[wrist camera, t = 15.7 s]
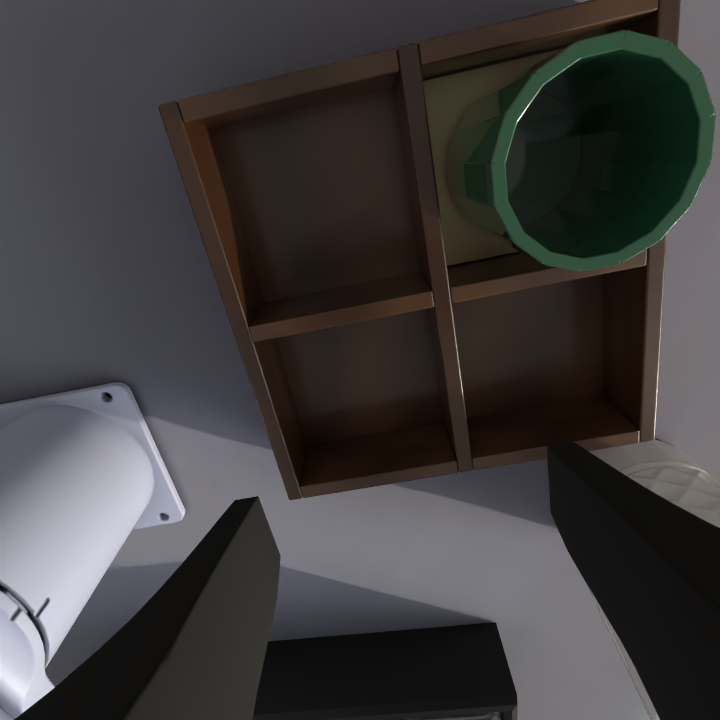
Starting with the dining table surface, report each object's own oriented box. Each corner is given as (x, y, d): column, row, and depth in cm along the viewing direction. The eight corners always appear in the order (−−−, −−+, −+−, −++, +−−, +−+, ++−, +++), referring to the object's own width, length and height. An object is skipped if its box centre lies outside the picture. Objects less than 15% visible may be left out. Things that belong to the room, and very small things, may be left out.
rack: (299, 451, 22) (288, 501, 19) (197, 116, 17) (156, 105, 13) (609, 397, 21) (655, 440, 18) (614, 16, 15) (683, -23, 12)
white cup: (620, 396, 21) (818, 575, 12) (735, 471, 23) (986, 679, 14) (510, 509, 24) (603, 727, 15) (620, 569, 25) (766, 799, 16)
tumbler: (453, 245, 18) (501, 288, 12) (435, 100, 16) (481, 62, 10) (585, 218, 17) (704, 248, 11) (584, 66, 15) (726, 5, 9)
